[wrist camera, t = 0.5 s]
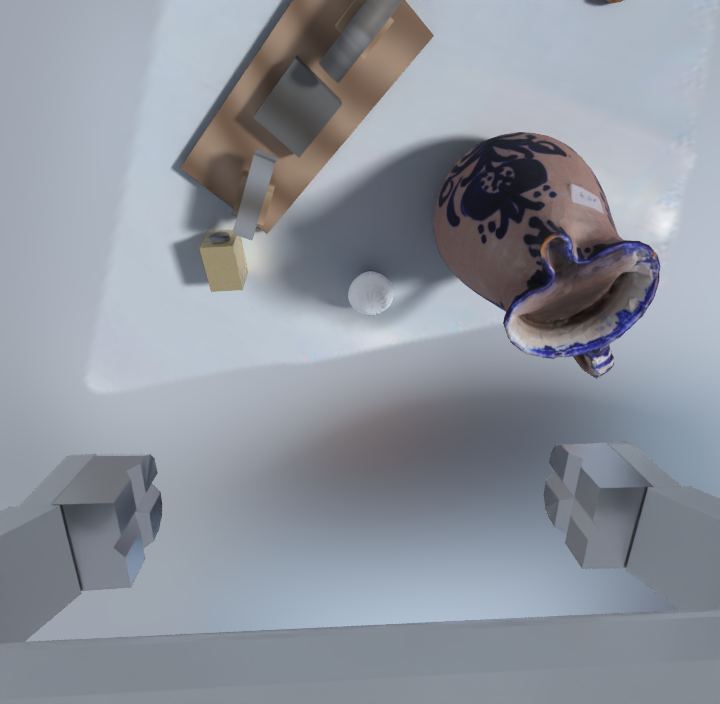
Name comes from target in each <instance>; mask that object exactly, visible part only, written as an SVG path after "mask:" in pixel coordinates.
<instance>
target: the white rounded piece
mask: <svg viewBox="0 0 720 704" xmlns="http://www.w3.org/2000/svg"><path fill="white" fill-rule="evenodd" d="M393 297H394V289H393V286H392V284H391V282H390V281H389V280H388V279H387V278H385V277H384V275H381V274H380V273H377V272H372V271H370V272H369V271H368V272H364V273H362V274H360V275H359V276H358V277H356V278H355V280H354V281H353V282H352V284H351V285H350V288H349V292H348V299H349V302H350V304H351V306H352V307H353V308H354V309H355V310H356V311H358V312H360V313H363V314H368V315H376V314H379V313H381V312H383V311H384V310H386V309H387V308H388V307H389V305H390V304H391V302H392V300H393Z"/></svg>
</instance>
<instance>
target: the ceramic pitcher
mask: <svg viewBox="0 0 720 704" xmlns="http://www.w3.org/2000/svg"><path fill="white" fill-rule="evenodd" d="M433 231H434V236H435V240H436V245H437V248H438V251H439V253H440V255H441V257H442V259H443V260H444V262H445V263H446V265H447V266H448V268H449V269H450V270H451V271H452V272H453V274H454V275H455V276H456V277H458V278H459V279H460V280H461V281H462V282H463V283H464V284H465V285H466V286H468V287H469V288H470V289H472V290H473V291H474V292H476V293H477V294H479V295H480V296H482V297H483V298H485V299H486V300H488V301H489V302H491V303H493V304H495V305H496V306H498V307H499V308H501V309H502V310H504V311H506V314H505V317H504V323H503V324H504V327H505V330H506V332H507V335H508V338H509V339H510V342H511V343H512V344H513V345H515V346H516V347H517V348H519V349H520V350H521V351H523V352H524V353H526V354H529V355H534V356H540V357H544V358H551V359H554V358H556V357H570V356H573V357H574V359H575V360H576V361H577V363H578V364H579V366H580V367H581V368H582V369H583V370H584V371H585V372H587V373H588V374H590V375H591V376H593V377H595V378H598V377H600V376H602V375H603V374H605V373H606V372H608V371H609V370H610V369H611V368H612V367H613V365H614V357H613V355H612V353H611V350H610V347H609V344H610V343H611V342H613V341H614V340H616V339H618V338H620V337H621V336H622V335H623V334H624V333H625V332H626V331H627V330H628V329H630V328H631V327H632V325H634V324H635V323H636V322H637V321H638V320H639V319H640V318H641V317H642V316H643V315H644V313H645V311H646V310H647V308H648V307H649V305H650V304H651V302H652V300H653V299H654V296H655V293H656V290H657V287H658V283H659V271H660V263H659V259H658V255H657V254H656V253H655V252H654V250H653V249H652V248H651V247H650V246H649V245H647V244H644V243H642V242H640V241H625V240H623V239H621V238H620V237H619V235H618V233H617V231H616V228H615V224H614V222H613V219H612V216H611V213H610V210H609V206H608V203H607V199H606V196H605V194H604V192H603V190H602V188H601V186H600V184H599V182H598V180H597V178H596V176H595V175H594V173H593V172H592V170H591V169H590V167H589V166H588V165H587V164H586V163H585V161H584V160H583V159H582V158H581V157H580V156H579V155H578V154H577V153H576V152H575V151H574V150H573V149H571V148H570V147H569V146H567V145H566V144H564V143H562V142H560V141H558V140H556V139H554V138H551V137H549V136H545V135H540V134H535V133H524V132H519V133H511V134H505V135H500V136H497V137H494V138H491V139H489V140H486V141H484V142H481V143H480V144H478V145H477V146H475V147H474V148H472V149H471V150H469V151H468V152H467V153H466V154H465V155H464V156H463V157H461V158H460V159H459V160H458V161H457V162H456V163H455V164H454V166H453V167H452V169H451V170H450V171H449V173H448V174H447V176H446V178H445V180H444V182H443V184H442V186H441V189H440V191H439V194H438V197H437V201H436V205H435V210H434V218H433Z"/></svg>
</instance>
